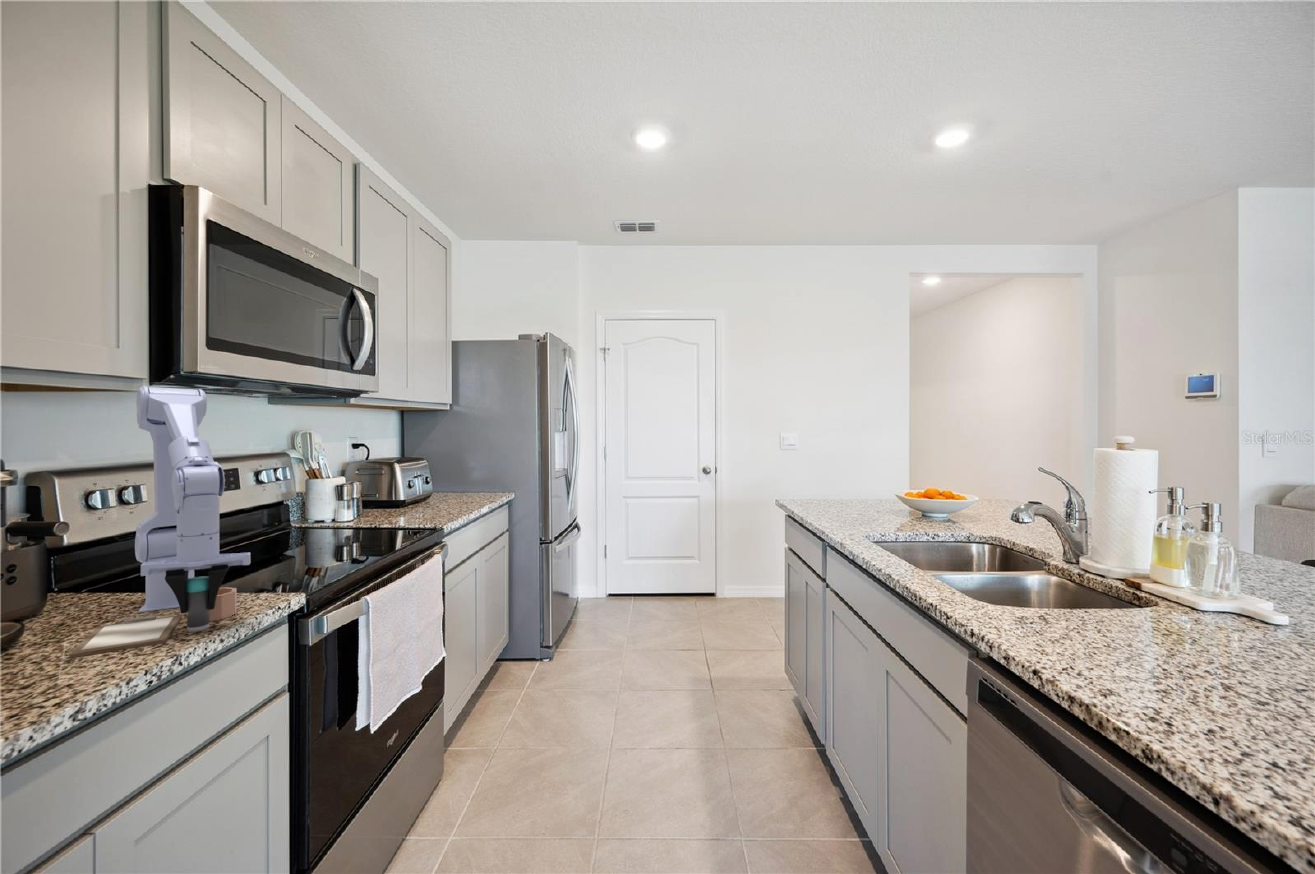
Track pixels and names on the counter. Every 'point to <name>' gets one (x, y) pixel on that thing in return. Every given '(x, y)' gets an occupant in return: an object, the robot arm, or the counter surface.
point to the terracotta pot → (224, 604)
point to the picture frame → (127, 635)
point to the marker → (197, 603)
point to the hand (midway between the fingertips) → (198, 610)
